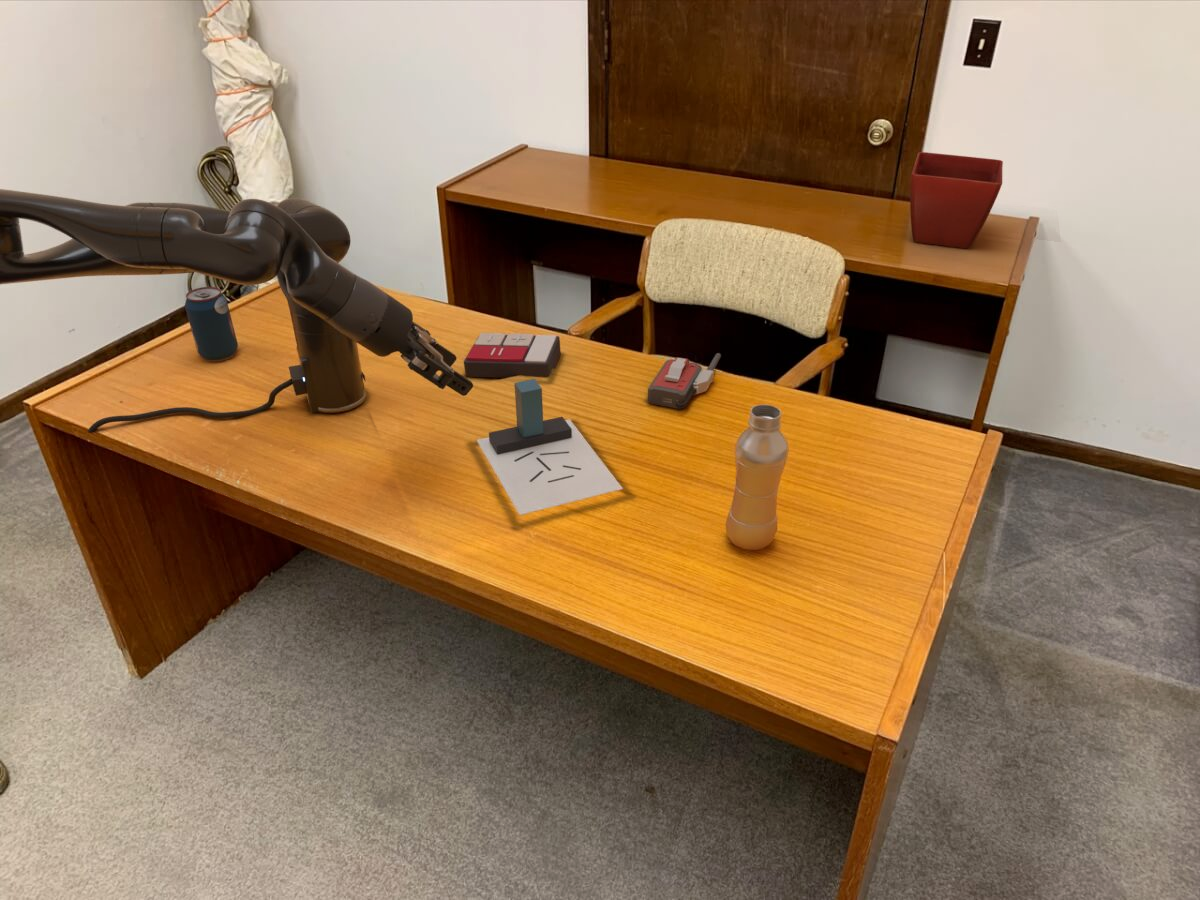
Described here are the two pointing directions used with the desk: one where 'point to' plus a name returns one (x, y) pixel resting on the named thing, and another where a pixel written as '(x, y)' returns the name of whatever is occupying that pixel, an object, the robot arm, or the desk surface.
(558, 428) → the eraser
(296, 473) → the desk surface
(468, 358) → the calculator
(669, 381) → the walkie-talkie
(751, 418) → the plastic bottle
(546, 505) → the whiteboard
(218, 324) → the soda can
